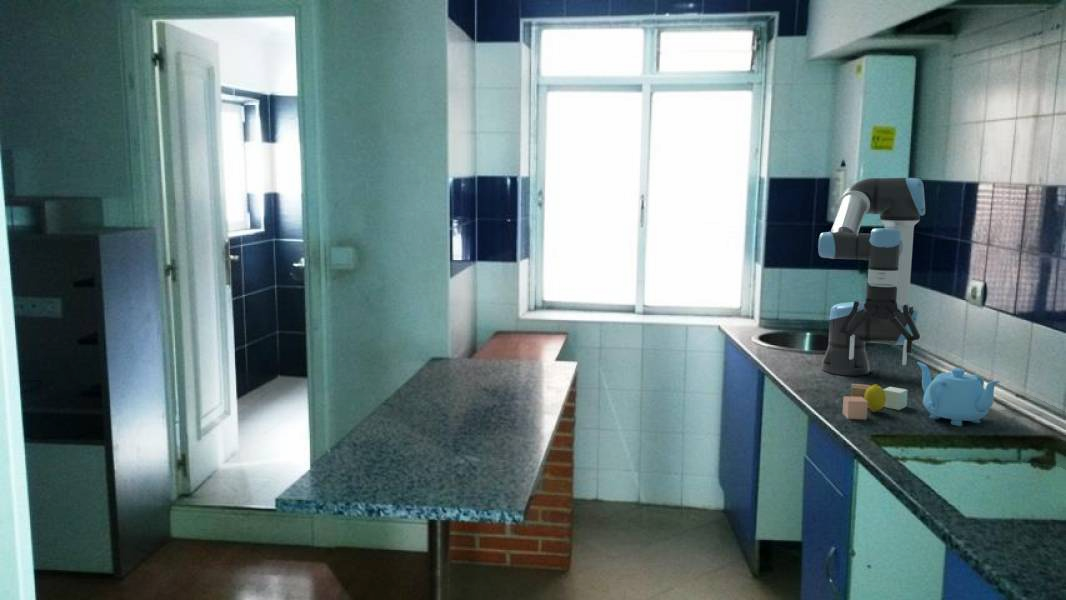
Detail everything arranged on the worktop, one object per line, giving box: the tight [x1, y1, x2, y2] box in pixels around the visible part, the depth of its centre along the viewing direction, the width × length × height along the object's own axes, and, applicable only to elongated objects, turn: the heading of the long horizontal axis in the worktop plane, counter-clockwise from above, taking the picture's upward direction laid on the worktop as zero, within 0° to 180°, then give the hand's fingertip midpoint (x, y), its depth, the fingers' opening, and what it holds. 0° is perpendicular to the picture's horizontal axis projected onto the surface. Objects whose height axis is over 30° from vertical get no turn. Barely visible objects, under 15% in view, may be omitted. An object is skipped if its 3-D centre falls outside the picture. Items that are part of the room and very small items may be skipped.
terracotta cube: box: [842, 395, 868, 420], centre depth 218 cm, size 5×5×5 cm
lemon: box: [864, 383, 886, 413], centre depth 221 cm, size 6×6×8 cm
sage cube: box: [882, 386, 908, 411], centre depth 227 cm, size 5×5×5 cm
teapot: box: [916, 361, 1001, 427], centre depth 214 cm, size 16×20×14 cm
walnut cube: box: [850, 383, 871, 398], centre depth 231 cm, size 5×5×5 cm
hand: (877, 361), depth 220 cm, fingers open, 13 cm apart
